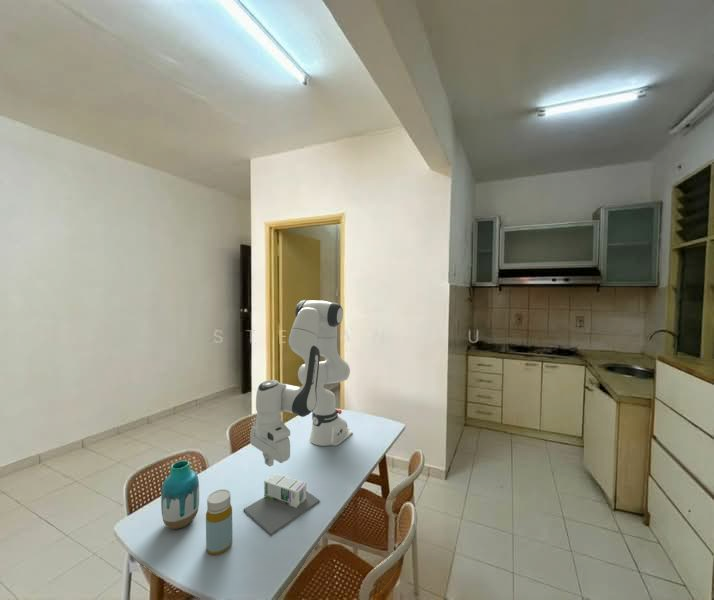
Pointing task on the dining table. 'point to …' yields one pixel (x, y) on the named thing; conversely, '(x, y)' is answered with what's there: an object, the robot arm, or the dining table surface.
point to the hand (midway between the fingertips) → (269, 464)
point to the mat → (277, 512)
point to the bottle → (218, 522)
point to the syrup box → (285, 490)
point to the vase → (180, 495)
